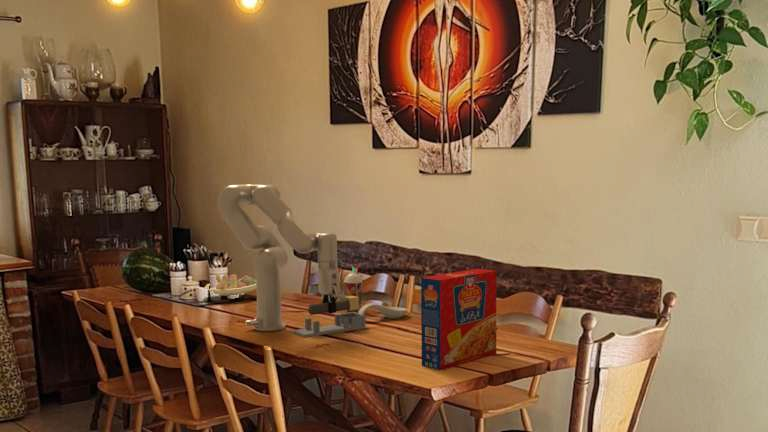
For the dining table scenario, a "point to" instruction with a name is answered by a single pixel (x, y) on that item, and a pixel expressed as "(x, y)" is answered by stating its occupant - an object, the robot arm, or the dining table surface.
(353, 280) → the smoothie
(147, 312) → the dining table surface
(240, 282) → the dish with food
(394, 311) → the spoon rest
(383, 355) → the dining table surface
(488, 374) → the dining table surface
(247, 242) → the robot arm
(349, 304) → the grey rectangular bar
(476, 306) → the pasta box
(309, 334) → the clip rail
